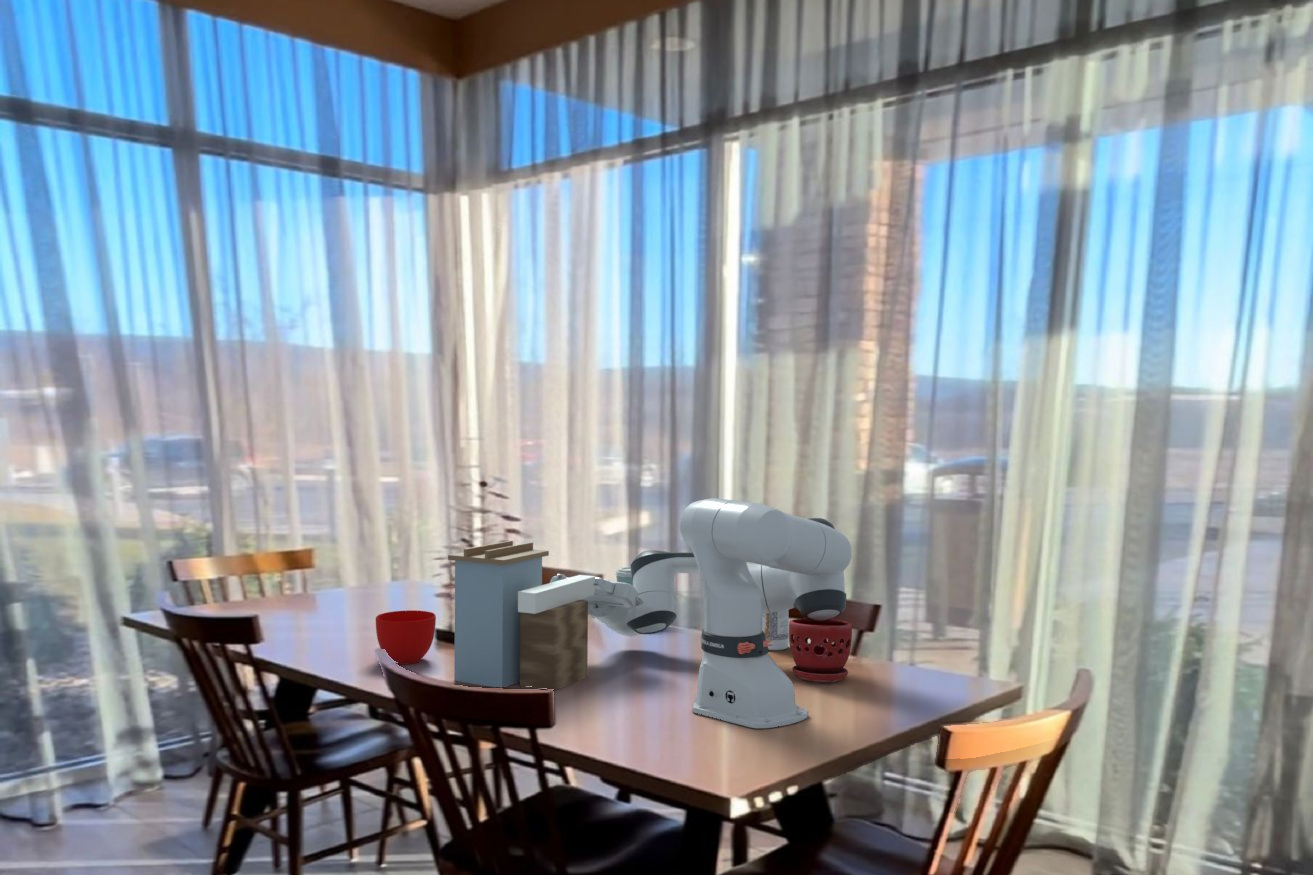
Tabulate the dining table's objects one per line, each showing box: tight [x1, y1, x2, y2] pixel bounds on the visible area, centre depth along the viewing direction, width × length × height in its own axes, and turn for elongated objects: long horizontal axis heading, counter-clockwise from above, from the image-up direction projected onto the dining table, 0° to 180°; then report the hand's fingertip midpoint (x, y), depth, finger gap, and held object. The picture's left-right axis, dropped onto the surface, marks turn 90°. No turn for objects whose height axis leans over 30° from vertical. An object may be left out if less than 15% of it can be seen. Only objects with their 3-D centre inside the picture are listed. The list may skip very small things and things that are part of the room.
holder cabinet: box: [447, 540, 550, 688], centre depth 212 cm, size 16×14×28 cm
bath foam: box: [762, 609, 790, 651], centre depth 241 cm, size 7×7×20 cm
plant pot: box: [788, 618, 853, 684], centre depth 214 cm, size 13×13×12 cm
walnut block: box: [519, 600, 589, 691], centre depth 209 cm, size 13×8×16 cm, turn 152°
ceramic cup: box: [375, 609, 437, 665], centre depth 227 cm, size 13×17×10 cm
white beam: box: [518, 574, 597, 614], centre depth 210 cm, size 24×4×4 cm, turn 154°
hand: (577, 578), depth 217 cm, fingers open, 8 cm apart
